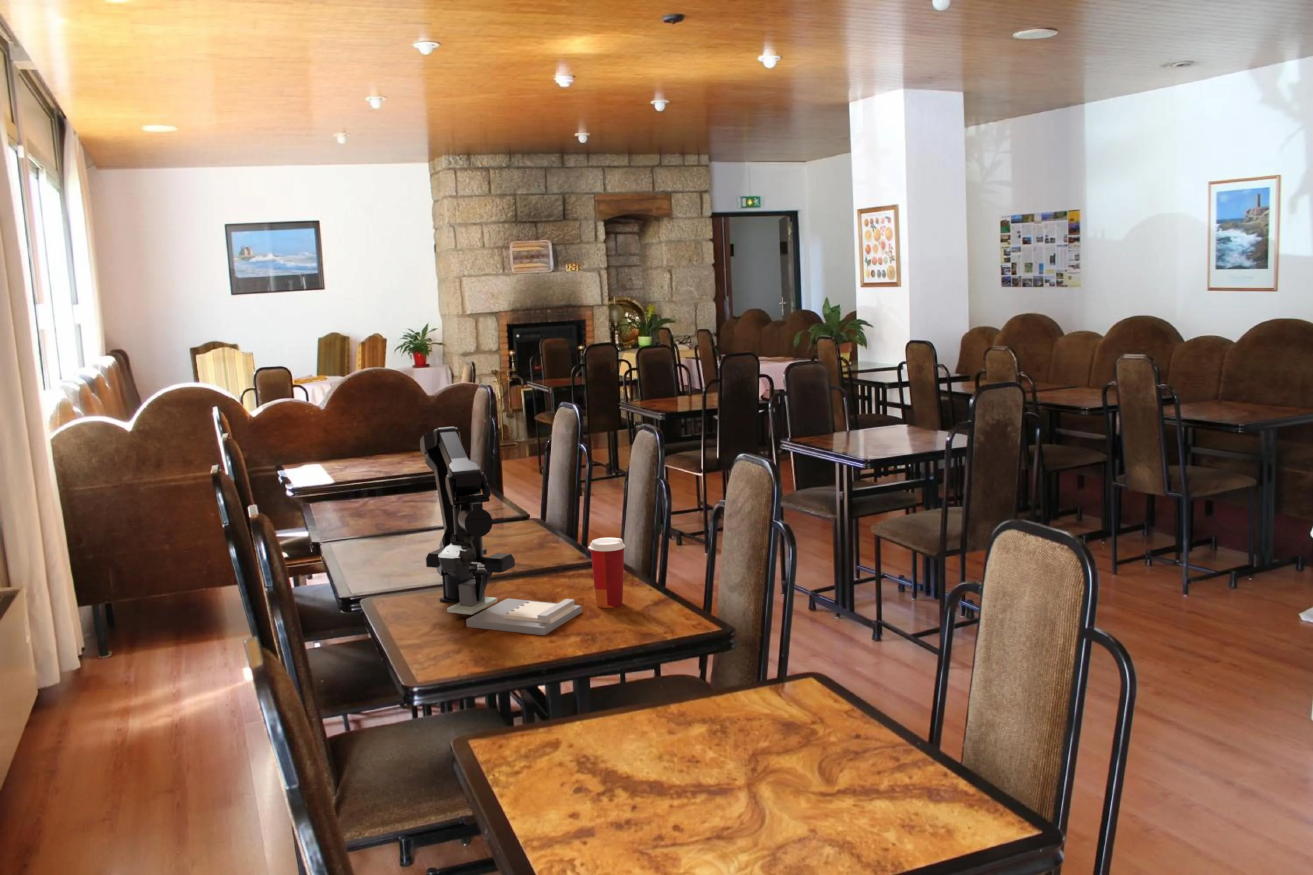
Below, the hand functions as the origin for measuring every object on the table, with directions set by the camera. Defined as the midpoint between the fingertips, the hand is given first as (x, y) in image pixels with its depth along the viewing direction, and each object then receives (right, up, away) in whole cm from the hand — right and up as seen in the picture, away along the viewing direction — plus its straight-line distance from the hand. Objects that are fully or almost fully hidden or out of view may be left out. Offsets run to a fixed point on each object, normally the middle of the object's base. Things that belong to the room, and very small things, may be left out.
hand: (472, 600), depth 233 cm
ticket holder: (+12, -3, -5) cm, 13 cm away
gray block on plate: (0, -1, 0) cm, 1 cm away
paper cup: (+29, -2, +4) cm, 29 cm away
